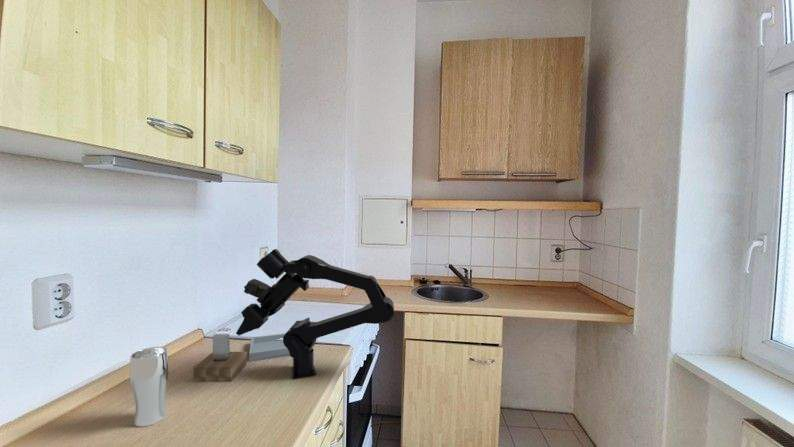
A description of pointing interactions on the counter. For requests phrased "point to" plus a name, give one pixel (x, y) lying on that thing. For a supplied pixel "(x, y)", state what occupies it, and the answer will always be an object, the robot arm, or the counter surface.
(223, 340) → the grey rectangular block
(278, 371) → the counter surface
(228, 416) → the counter surface
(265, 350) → the tray
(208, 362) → the socket
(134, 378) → the beer glass
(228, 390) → the counter surface
